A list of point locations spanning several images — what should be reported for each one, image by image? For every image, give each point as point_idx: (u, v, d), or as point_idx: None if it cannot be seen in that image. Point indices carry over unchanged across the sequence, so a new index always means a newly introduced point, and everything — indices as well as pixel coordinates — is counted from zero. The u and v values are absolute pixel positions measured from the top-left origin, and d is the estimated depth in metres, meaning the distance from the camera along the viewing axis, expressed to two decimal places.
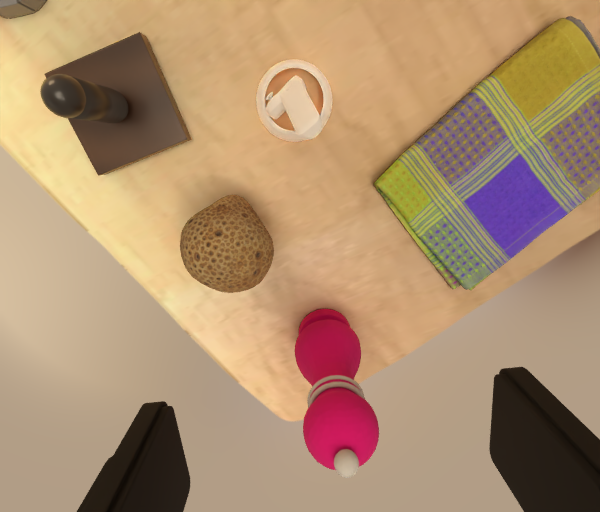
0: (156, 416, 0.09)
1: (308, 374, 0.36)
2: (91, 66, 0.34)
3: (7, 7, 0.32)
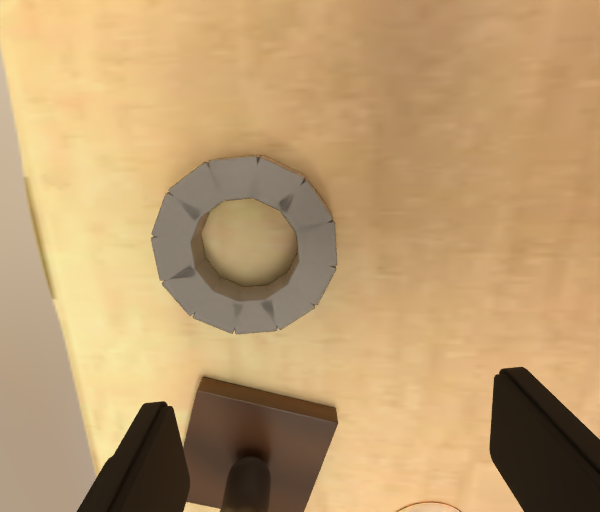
0: (156, 416, 0.09)
1: None
2: (258, 416, 0.25)
3: (215, 325, 0.23)
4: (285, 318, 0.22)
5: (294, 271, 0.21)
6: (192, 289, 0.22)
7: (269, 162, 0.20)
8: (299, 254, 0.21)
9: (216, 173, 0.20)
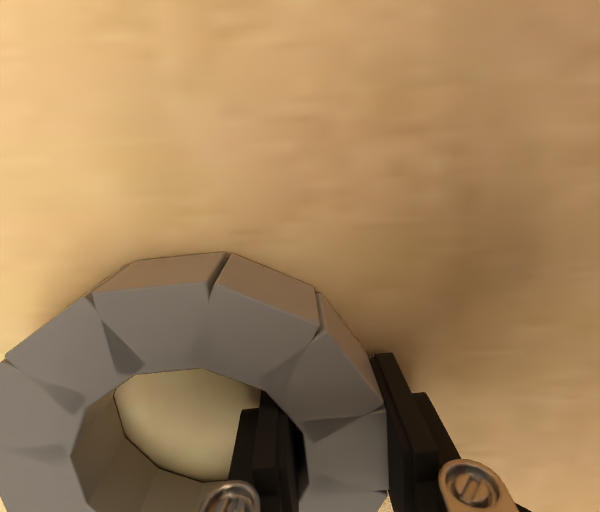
0: None
1: None
2: None
3: None
4: None
5: (299, 501, 0.10)
6: None
7: (237, 294, 0.08)
8: (309, 471, 0.10)
9: (113, 320, 0.08)
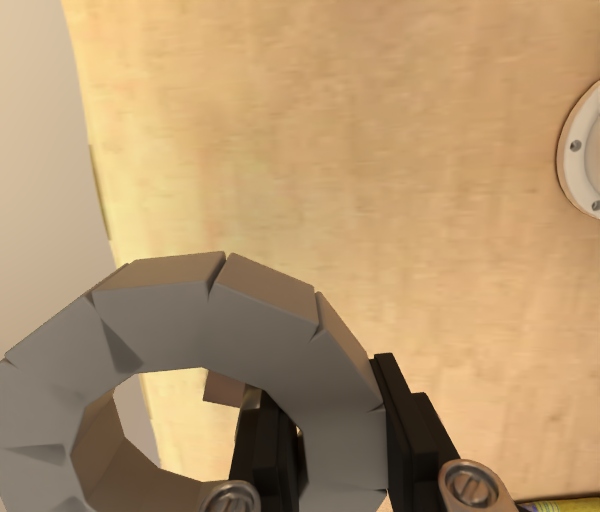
0: None
1: None
2: None
3: None
4: None
5: None
6: None
7: (237, 292, 0.08)
8: (309, 470, 0.10)
9: (112, 319, 0.08)
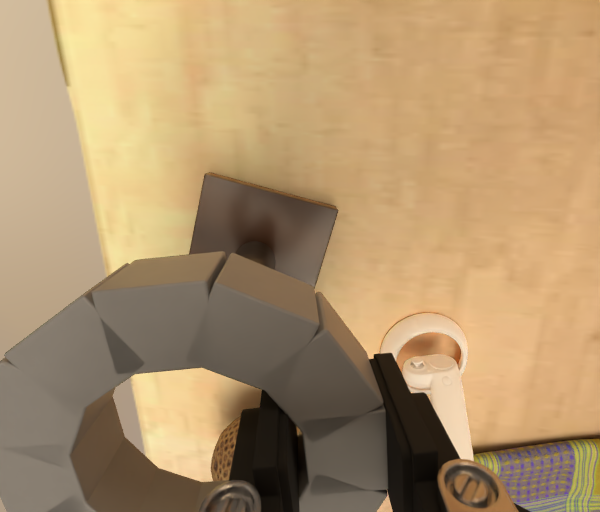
0: None
1: None
2: (262, 202, 0.27)
3: None
4: None
5: None
6: None
7: (237, 293, 0.08)
8: (309, 471, 0.10)
9: (112, 319, 0.08)
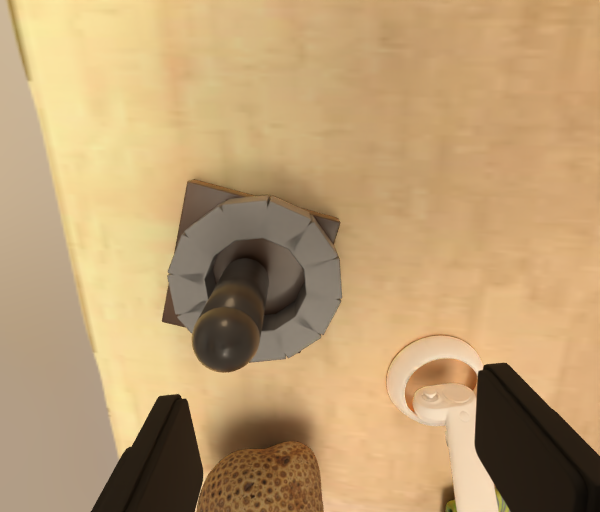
0: (172, 408, 0.10)
1: None
2: None
3: None
4: (293, 347, 0.24)
5: (302, 304, 0.23)
6: None
7: (278, 205, 0.21)
8: (306, 288, 0.22)
9: (229, 216, 0.21)
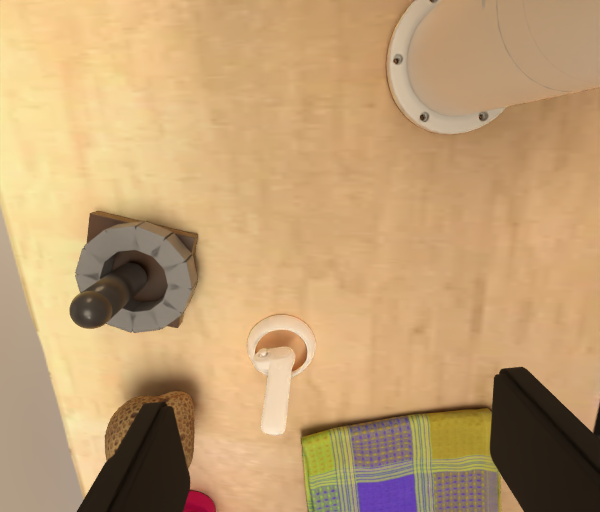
0: (156, 416, 0.09)
1: None
2: None
3: (121, 327, 0.36)
4: (163, 322, 0.35)
5: (166, 292, 0.35)
6: None
7: (142, 229, 0.33)
8: (167, 282, 0.34)
9: (111, 236, 0.33)
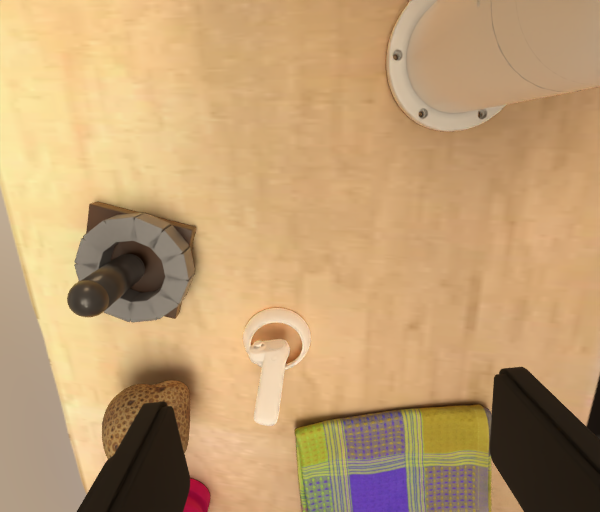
0: (156, 416, 0.09)
1: None
2: None
3: (118, 317, 0.36)
4: (160, 312, 0.36)
5: (163, 283, 0.35)
6: None
7: (141, 220, 0.33)
8: (165, 273, 0.35)
9: (110, 227, 0.33)
